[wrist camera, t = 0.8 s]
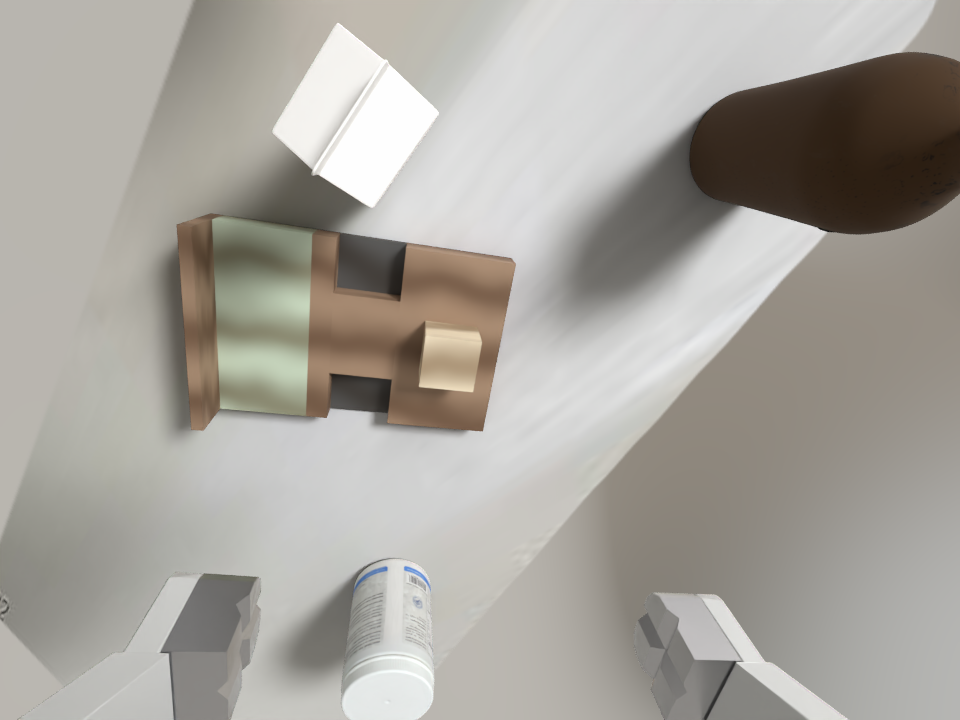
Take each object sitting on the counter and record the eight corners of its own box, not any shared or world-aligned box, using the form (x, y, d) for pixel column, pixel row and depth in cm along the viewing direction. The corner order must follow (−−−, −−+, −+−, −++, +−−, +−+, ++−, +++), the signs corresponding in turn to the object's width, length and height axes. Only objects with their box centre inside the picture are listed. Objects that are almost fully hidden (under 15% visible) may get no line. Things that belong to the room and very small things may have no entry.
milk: (333, 136, 41) (244, 129, 21) (374, 73, 40) (320, -1, 19) (393, 184, 43) (364, 219, 23) (434, 125, 42) (442, 107, 21)
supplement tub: (356, 611, 63) (339, 735, 50) (353, 556, 60) (333, 674, 46) (431, 607, 65) (433, 727, 51) (432, 553, 61) (435, 668, 48)
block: (425, 320, 46) (425, 335, 42) (477, 326, 47) (482, 342, 43) (419, 368, 48) (418, 386, 44) (469, 373, 49) (472, 392, 45)
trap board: (210, 213, 42) (176, 224, 36) (511, 258, 47) (524, 274, 41) (218, 395, 49) (191, 429, 43) (480, 419, 54) (487, 453, 48)
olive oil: (667, 119, 43) (938, 91, 21) (780, 58, 42) (1195, -41, 20) (699, 227, 48) (951, 302, 25) (801, 174, 47) (1162, 203, 24)
